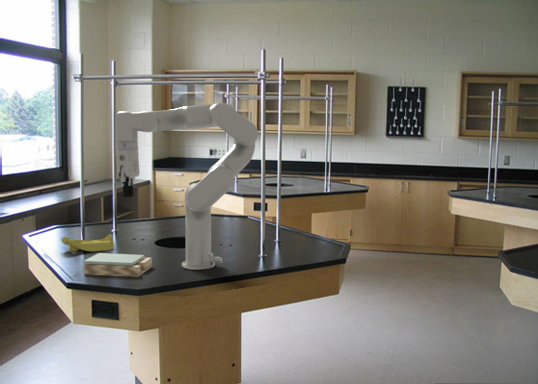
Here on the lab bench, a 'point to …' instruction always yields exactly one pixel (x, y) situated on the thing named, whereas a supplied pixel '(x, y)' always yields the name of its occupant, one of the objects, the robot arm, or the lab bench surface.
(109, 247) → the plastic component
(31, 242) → the lab bench surface
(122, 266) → the base
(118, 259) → the plate
